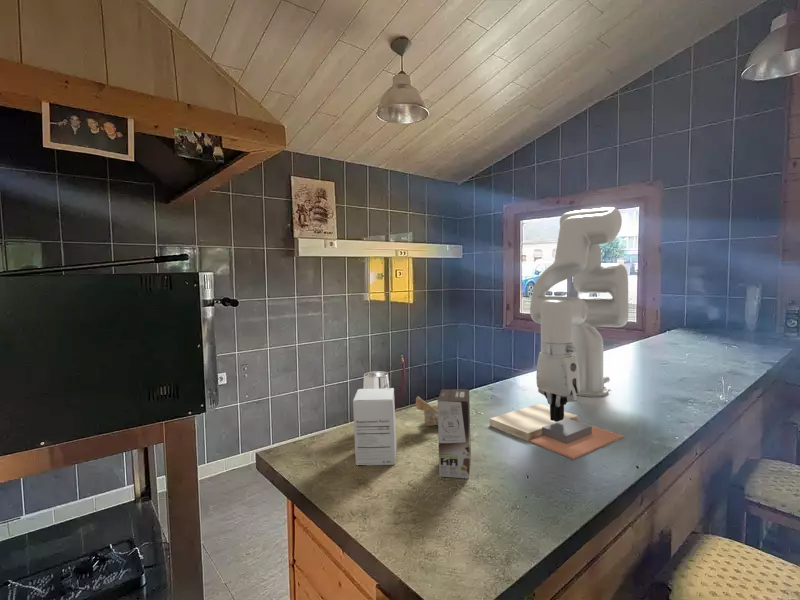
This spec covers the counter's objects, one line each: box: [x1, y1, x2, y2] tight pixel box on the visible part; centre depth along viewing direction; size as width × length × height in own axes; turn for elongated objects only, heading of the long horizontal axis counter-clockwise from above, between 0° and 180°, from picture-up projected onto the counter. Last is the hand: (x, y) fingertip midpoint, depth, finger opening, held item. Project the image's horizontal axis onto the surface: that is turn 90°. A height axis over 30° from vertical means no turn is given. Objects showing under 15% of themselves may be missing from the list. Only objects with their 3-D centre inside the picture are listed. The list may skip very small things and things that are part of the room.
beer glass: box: [363, 370, 390, 389], centre depth 114 cm, size 7×7×15 cm
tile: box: [542, 418, 593, 444], centre depth 106 cm, size 10×7×2 cm
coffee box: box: [437, 388, 472, 480], centre depth 90 cm, size 9×6×16 cm
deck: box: [489, 403, 579, 442], centre depth 114 cm, size 20×13×2 cm, turn 123°
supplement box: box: [352, 387, 397, 467], centre depth 97 cm, size 9×9×15 cm
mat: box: [529, 421, 625, 460], centre depth 103 cm, size 20×12×1 cm, turn 123°
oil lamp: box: [415, 395, 438, 427], centre depth 118 cm, size 9×21×10 cm, turn 138°
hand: (557, 419), depth 108 cm, fingers closed
